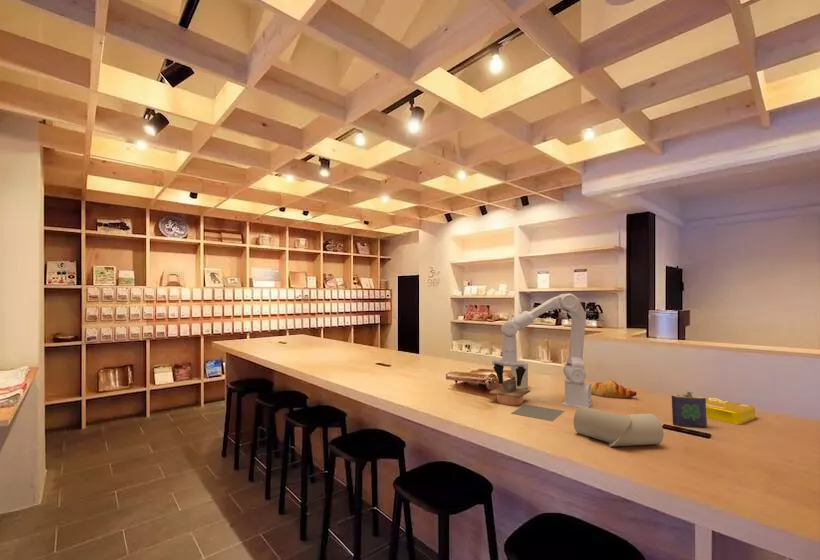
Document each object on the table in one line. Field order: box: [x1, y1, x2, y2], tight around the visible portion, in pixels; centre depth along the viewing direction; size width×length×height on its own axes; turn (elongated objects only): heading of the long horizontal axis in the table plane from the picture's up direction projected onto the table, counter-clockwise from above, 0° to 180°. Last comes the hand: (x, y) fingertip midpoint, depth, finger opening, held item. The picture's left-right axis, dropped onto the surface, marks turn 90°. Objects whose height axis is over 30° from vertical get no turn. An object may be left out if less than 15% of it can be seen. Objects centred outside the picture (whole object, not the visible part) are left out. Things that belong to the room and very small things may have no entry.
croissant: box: [589, 379, 637, 399], centre depth 168 cm, size 21×10×8 cm, turn 54°
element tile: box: [705, 397, 756, 425], centre depth 139 cm, size 15×15×5 cm
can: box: [510, 361, 529, 390], centre depth 182 cm, size 8×8×12 cm
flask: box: [671, 390, 708, 429], centre depth 128 cm, size 10×3×12 cm, turn 78°
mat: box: [510, 404, 565, 422], centre depth 142 cm, size 15×15×1 cm
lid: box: [488, 379, 531, 398], centre depth 157 cm, size 12×12×5 cm
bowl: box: [496, 395, 524, 406], centre depth 157 cm, size 10×10×4 cm
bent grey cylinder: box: [573, 406, 665, 448], centre depth 116 cm, size 18×11×20 cm
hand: (509, 384), depth 157 cm, fingers open, 7 cm apart
